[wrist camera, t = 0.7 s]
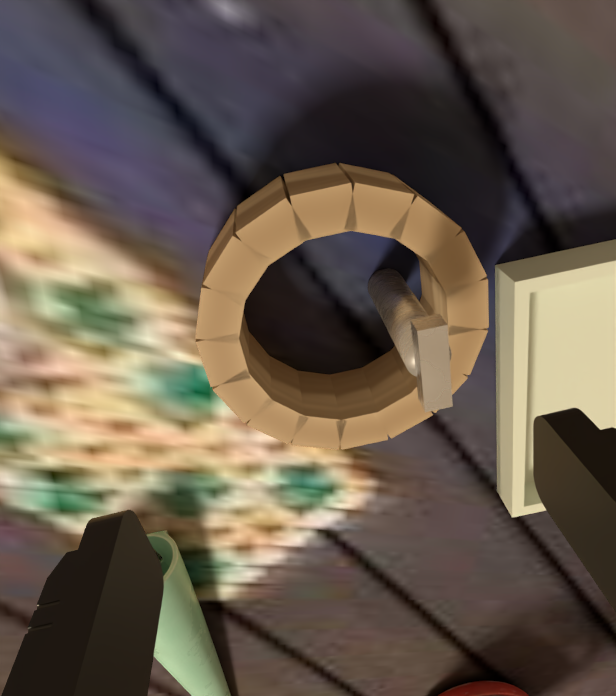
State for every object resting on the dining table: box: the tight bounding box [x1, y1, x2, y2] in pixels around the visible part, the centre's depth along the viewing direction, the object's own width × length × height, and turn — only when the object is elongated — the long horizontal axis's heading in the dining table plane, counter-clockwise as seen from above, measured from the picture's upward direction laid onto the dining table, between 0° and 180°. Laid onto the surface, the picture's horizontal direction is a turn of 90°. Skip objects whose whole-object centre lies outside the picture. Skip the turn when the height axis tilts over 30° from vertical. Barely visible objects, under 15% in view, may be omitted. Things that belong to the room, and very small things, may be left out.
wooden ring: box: [195, 163, 489, 450], centre depth 27 cm, size 14×14×4 cm
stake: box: [368, 268, 453, 412], centre depth 25 cm, size 4×2×9 cm, turn 11°
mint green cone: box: [146, 530, 231, 696], centre depth 41 cm, size 5×6×27 cm
